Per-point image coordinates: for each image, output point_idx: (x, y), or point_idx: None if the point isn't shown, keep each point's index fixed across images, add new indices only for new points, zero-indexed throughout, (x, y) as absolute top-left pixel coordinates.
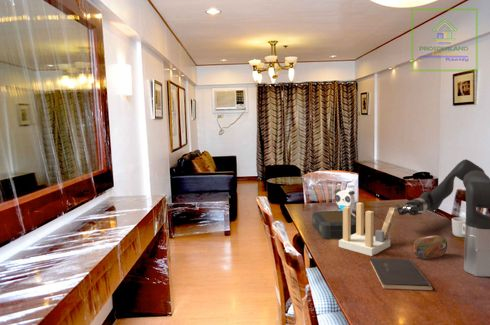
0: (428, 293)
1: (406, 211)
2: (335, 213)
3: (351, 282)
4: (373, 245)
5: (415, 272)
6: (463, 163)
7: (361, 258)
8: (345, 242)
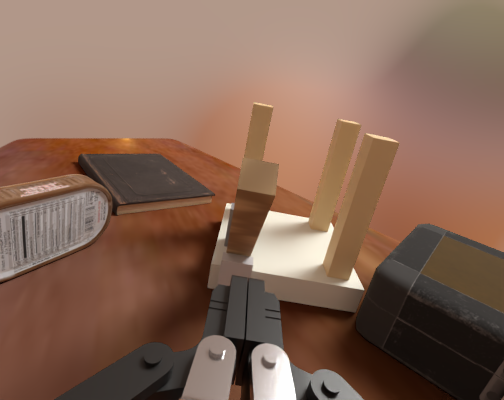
0: None
1: (203, 336)
2: None
3: (205, 165)
4: None
5: (108, 171)
6: None
7: None
8: (308, 218)
